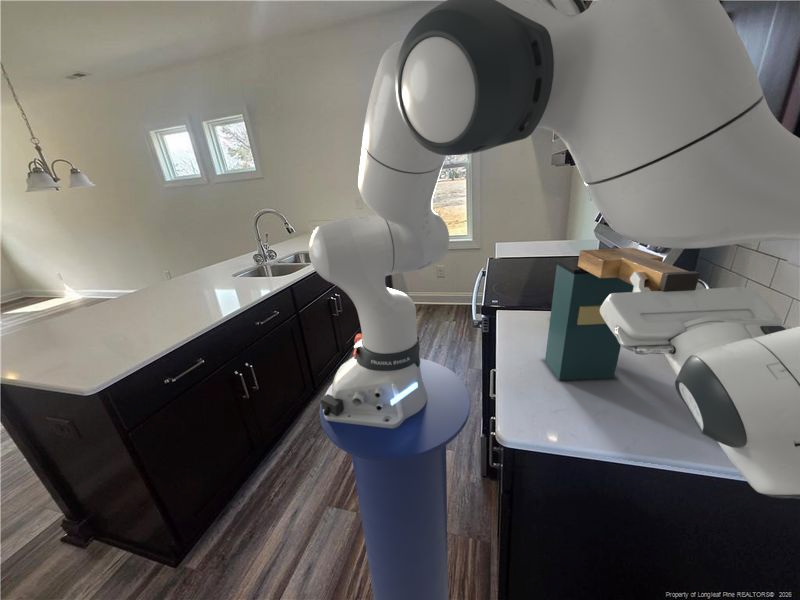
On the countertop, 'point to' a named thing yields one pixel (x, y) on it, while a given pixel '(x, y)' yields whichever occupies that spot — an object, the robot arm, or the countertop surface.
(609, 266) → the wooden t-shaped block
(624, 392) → the countertop surface
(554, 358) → the teal box with label
